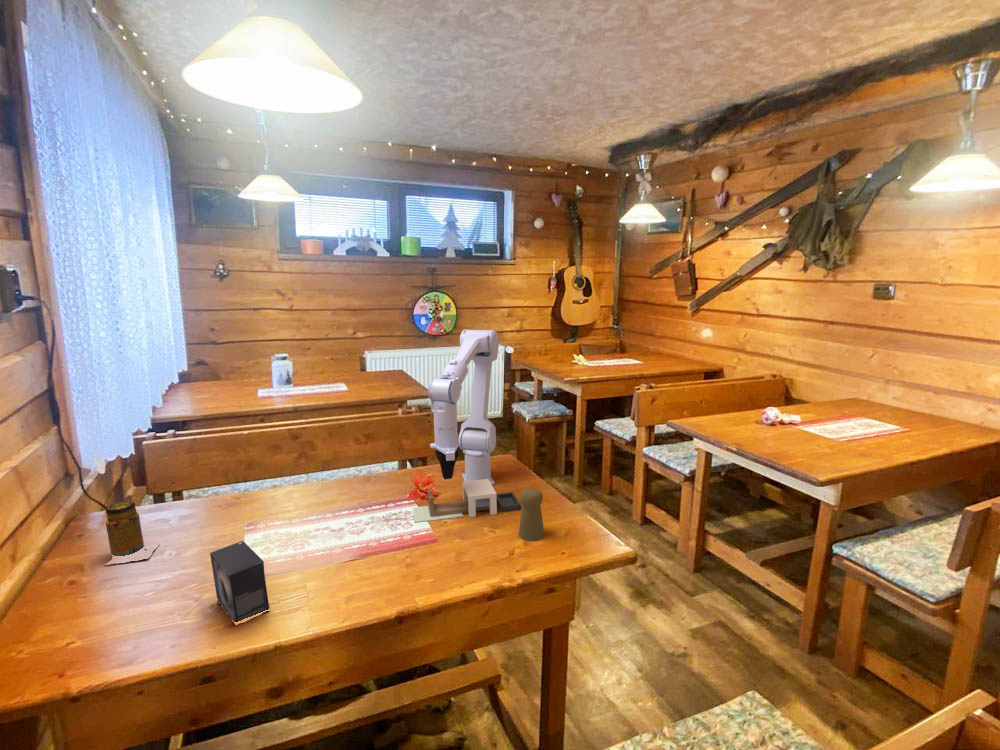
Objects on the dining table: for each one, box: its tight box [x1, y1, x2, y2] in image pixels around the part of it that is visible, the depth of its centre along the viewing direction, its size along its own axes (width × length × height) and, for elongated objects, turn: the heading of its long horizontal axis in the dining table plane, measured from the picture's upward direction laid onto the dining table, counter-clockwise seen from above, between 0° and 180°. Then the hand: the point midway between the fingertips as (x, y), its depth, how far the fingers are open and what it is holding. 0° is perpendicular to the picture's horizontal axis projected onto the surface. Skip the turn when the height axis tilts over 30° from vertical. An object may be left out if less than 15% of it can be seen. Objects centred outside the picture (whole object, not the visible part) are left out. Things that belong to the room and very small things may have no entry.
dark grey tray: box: [496, 491, 522, 513], centre depth 141 cm, size 8×5×1 cm, turn 13°
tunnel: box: [462, 479, 498, 518], centre depth 139 cm, size 10×7×6 cm
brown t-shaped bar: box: [427, 489, 490, 517], centre depth 138 cm, size 5×17×5 cm, turn 103°
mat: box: [412, 505, 464, 523], centre depth 137 cm, size 8×12×1 cm, turn 103°
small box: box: [209, 540, 271, 622], centre depth 100 cm, size 11×6×10 cm, turn 45°
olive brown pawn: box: [518, 487, 545, 542], centre depth 124 cm, size 6×6×11 cm
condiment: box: [105, 500, 145, 556], centre depth 118 cm, size 7×8×12 cm
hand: (447, 478), depth 136 cm, fingers closed
